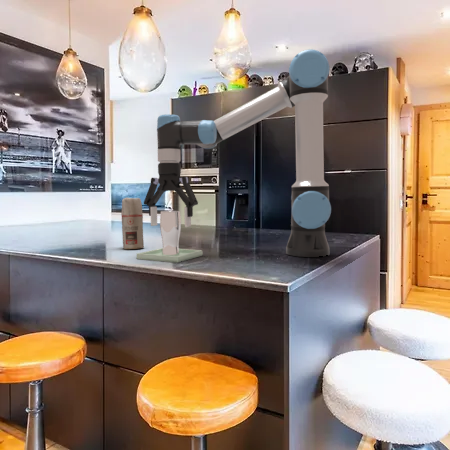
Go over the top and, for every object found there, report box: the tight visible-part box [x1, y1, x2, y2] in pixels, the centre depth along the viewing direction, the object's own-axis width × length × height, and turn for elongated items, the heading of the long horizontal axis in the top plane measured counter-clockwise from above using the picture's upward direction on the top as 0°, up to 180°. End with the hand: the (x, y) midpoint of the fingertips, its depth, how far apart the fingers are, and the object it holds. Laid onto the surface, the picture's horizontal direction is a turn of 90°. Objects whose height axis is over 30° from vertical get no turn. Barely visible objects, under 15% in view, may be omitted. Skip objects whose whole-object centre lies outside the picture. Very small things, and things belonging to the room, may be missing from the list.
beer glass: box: [159, 210, 182, 256], centre depth 138 cm, size 7×7×15 cm
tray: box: [136, 247, 204, 264], centre depth 139 cm, size 16×16×2 cm
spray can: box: [121, 197, 145, 250], centre depth 159 cm, size 8×8×20 cm
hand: (170, 226), depth 138 cm, fingers open, 13 cm apart
